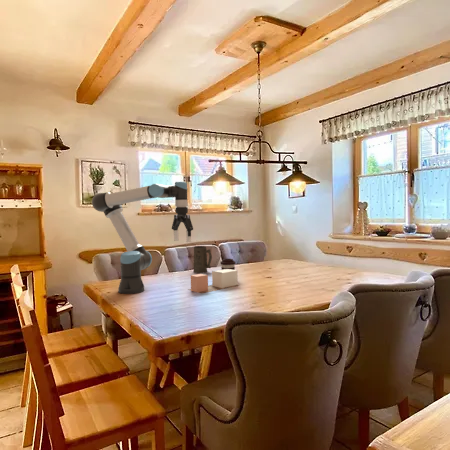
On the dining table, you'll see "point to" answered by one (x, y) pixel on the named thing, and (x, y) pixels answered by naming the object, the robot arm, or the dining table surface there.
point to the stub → (199, 282)
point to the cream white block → (224, 278)
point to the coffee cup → (228, 264)
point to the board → (214, 288)
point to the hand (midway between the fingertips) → (182, 241)
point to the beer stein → (201, 259)
